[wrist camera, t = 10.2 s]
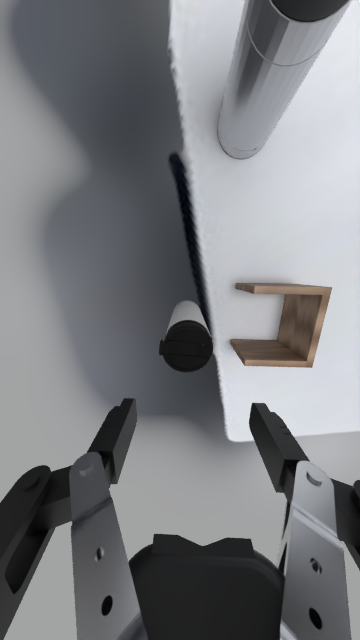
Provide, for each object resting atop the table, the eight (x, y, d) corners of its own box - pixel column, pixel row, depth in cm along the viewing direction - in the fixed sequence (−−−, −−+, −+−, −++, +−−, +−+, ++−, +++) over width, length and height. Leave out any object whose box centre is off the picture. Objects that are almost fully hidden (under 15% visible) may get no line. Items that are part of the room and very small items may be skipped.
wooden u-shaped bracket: (236, 283, 37) (254, 286, 27) (293, 283, 36) (332, 287, 27) (230, 343, 40) (244, 365, 31) (281, 345, 40) (312, 367, 30)
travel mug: (173, 298, 38) (161, 322, 19) (202, 302, 38) (220, 331, 19) (170, 324, 40) (155, 371, 20) (197, 328, 40) (209, 379, 20)
